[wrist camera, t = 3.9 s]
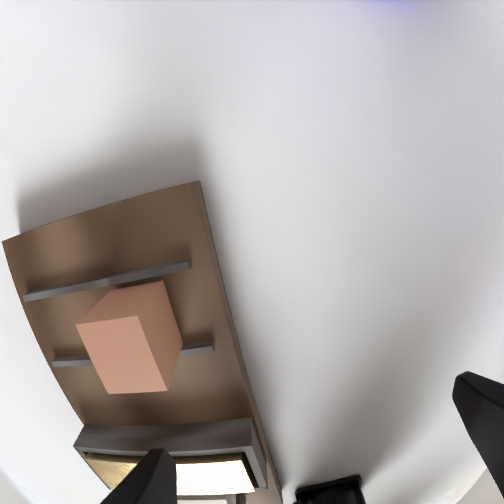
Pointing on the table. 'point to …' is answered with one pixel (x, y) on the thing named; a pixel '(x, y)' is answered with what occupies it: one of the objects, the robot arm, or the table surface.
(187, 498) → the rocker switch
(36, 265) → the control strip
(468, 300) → the table surface
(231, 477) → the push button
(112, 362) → the peach tinted cube
